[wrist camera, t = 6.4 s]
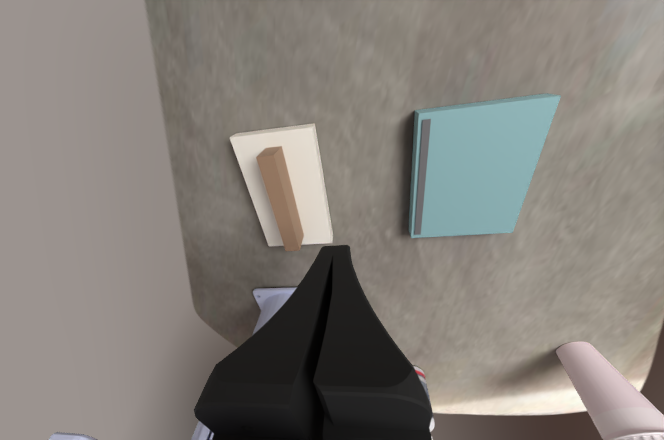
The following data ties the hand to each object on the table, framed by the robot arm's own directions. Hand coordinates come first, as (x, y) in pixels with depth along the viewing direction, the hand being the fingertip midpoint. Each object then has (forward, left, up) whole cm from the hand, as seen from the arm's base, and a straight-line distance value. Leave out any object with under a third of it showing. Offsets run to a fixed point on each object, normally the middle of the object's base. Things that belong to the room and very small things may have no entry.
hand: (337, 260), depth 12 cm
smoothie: (-25, -26, -9) cm, 37 cm away
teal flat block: (0, -9, -9) cm, 13 cm away
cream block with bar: (0, +5, -9) cm, 10 cm away
